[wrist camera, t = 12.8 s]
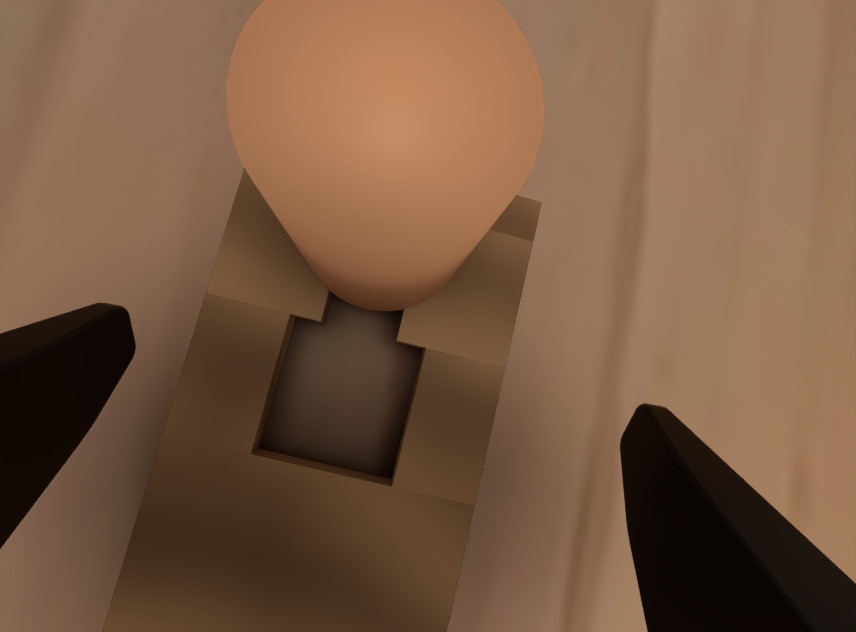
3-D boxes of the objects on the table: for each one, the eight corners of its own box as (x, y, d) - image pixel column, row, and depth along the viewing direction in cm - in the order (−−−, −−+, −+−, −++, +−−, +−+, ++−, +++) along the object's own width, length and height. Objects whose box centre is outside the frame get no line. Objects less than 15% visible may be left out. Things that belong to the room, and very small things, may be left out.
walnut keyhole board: (409, 687, 20) (417, 764, 16) (140, 633, 20) (80, 700, 16) (513, 231, 23) (541, 202, 19) (279, 167, 22) (257, 123, 18)
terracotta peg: (392, 348, 20) (409, 321, 9) (280, 254, 20) (154, 106, 9) (482, 241, 21) (604, 91, 10) (376, 151, 21) (372, -106, 10)
